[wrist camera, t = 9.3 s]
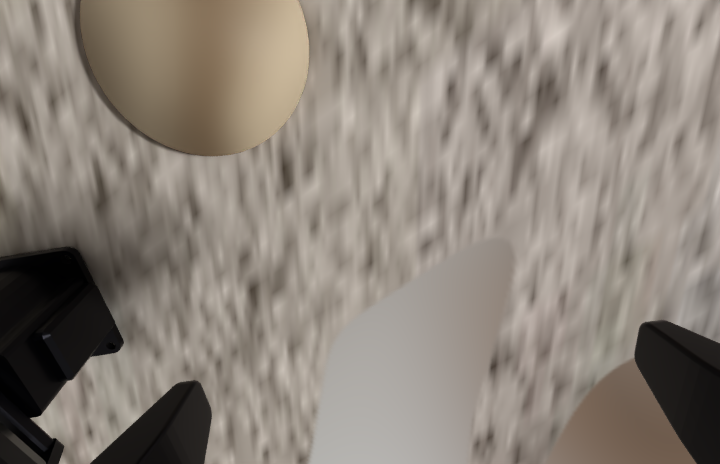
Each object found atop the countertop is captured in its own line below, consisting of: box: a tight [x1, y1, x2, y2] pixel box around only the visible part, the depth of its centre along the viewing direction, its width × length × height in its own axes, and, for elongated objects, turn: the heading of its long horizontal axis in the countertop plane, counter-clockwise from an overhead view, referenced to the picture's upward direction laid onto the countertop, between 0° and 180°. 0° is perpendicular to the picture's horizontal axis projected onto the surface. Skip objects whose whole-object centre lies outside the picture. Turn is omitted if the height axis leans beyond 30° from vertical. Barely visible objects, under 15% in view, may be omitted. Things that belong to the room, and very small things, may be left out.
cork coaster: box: [80, 0, 309, 156], centre depth 17 cm, size 9×9×1 cm
